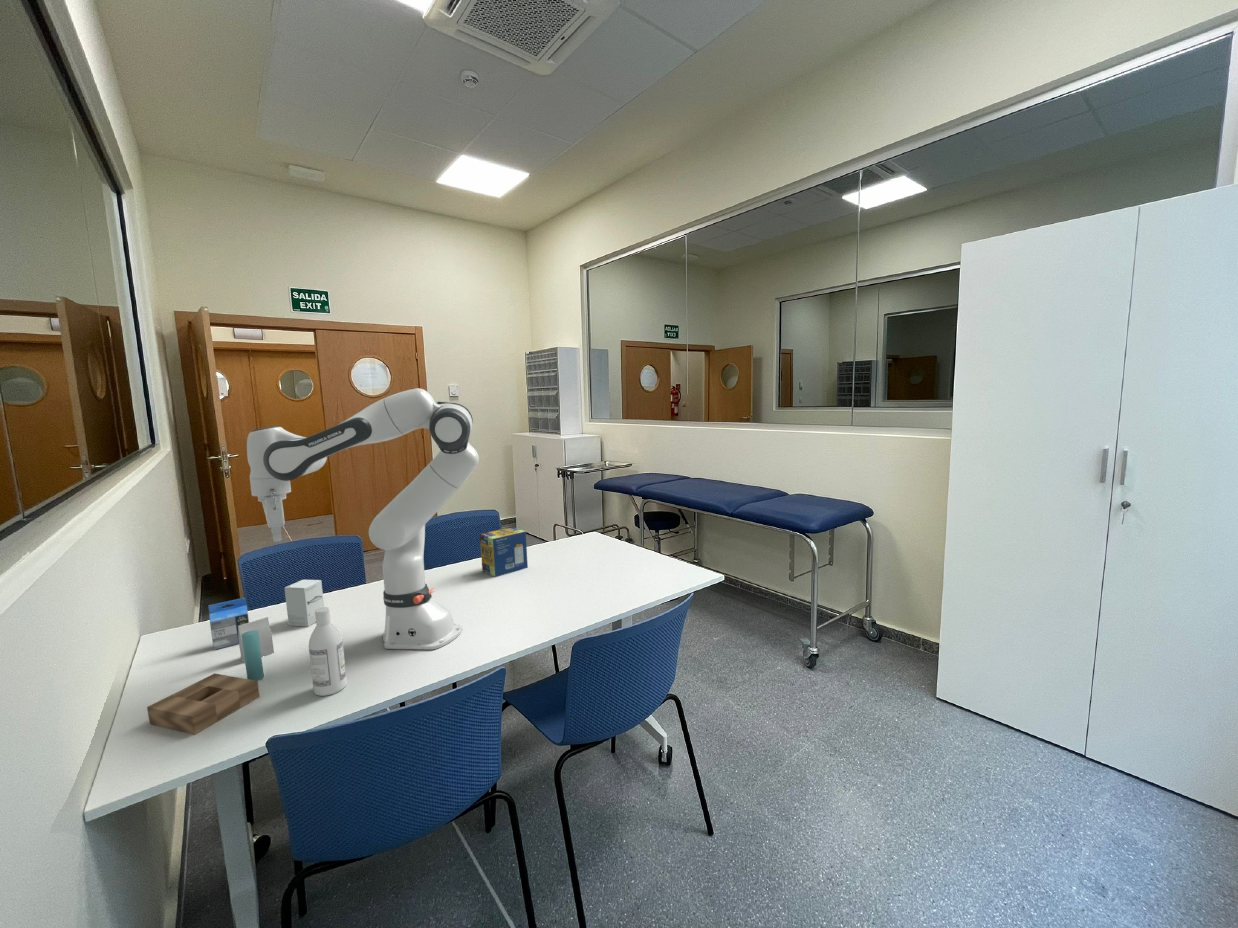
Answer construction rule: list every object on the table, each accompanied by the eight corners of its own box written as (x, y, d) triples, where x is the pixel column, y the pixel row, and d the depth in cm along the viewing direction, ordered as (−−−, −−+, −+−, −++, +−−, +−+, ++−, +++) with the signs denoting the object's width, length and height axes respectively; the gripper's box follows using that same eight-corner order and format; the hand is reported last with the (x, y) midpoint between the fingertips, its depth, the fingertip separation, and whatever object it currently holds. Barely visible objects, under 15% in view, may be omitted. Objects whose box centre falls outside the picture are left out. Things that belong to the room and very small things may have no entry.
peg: (267, 675, 129) (261, 630, 128) (254, 682, 126) (248, 637, 124) (257, 673, 130) (251, 629, 129) (244, 680, 127) (238, 635, 125)
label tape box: (213, 650, 144) (207, 609, 142) (213, 645, 147) (207, 605, 145) (251, 640, 149) (246, 600, 148) (250, 636, 152) (245, 596, 151)
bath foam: (340, 677, 127) (331, 601, 125) (352, 686, 123) (343, 607, 120) (309, 690, 122) (300, 610, 119) (320, 700, 117) (311, 618, 115)
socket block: (259, 696, 120) (257, 680, 119) (195, 734, 107) (192, 716, 106) (216, 688, 124) (214, 673, 123) (149, 723, 111) (147, 706, 110)
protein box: (481, 571, 204) (479, 533, 202) (515, 562, 214) (512, 526, 212) (494, 577, 196) (492, 538, 194) (528, 567, 207) (526, 530, 205)
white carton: (274, 653, 141) (269, 618, 140) (244, 663, 136) (240, 627, 135) (270, 649, 144) (265, 615, 142) (241, 658, 139) (236, 624, 137)
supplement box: (308, 627, 157) (303, 588, 156) (287, 625, 159) (283, 587, 157) (326, 617, 164) (322, 579, 163) (306, 615, 166) (302, 578, 164)
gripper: (287, 491, 129) (293, 543, 131) (282, 481, 146) (287, 528, 148) (257, 494, 126) (263, 548, 128) (256, 484, 142) (261, 532, 144)
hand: (276, 537), depth 138 cm, fingers open, 8 cm apart
